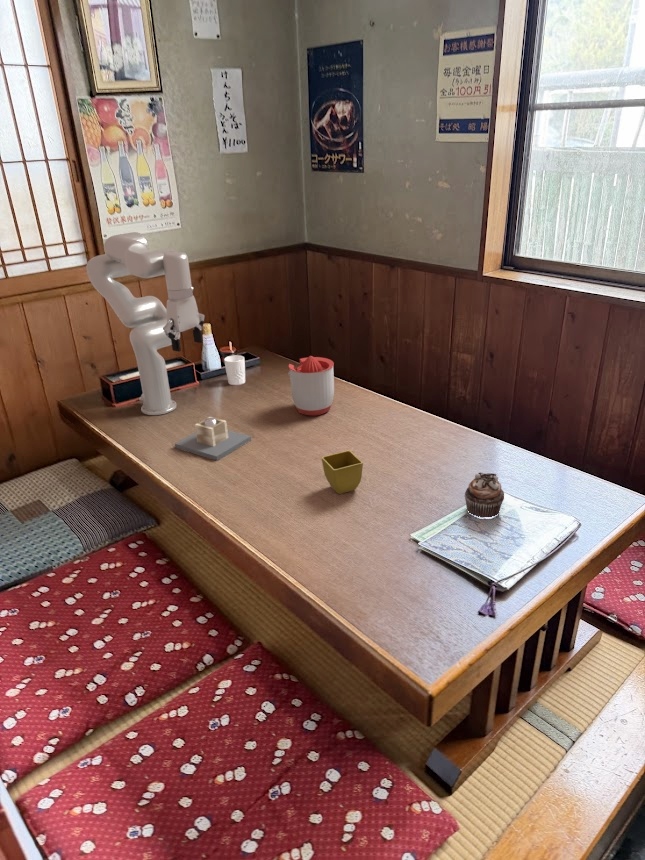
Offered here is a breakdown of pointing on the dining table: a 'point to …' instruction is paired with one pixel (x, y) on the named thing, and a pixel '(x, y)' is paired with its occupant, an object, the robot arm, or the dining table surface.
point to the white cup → (235, 369)
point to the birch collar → (211, 432)
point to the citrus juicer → (312, 385)
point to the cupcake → (484, 495)
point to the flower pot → (342, 471)
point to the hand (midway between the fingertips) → (187, 346)
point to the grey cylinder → (210, 422)
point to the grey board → (218, 450)
